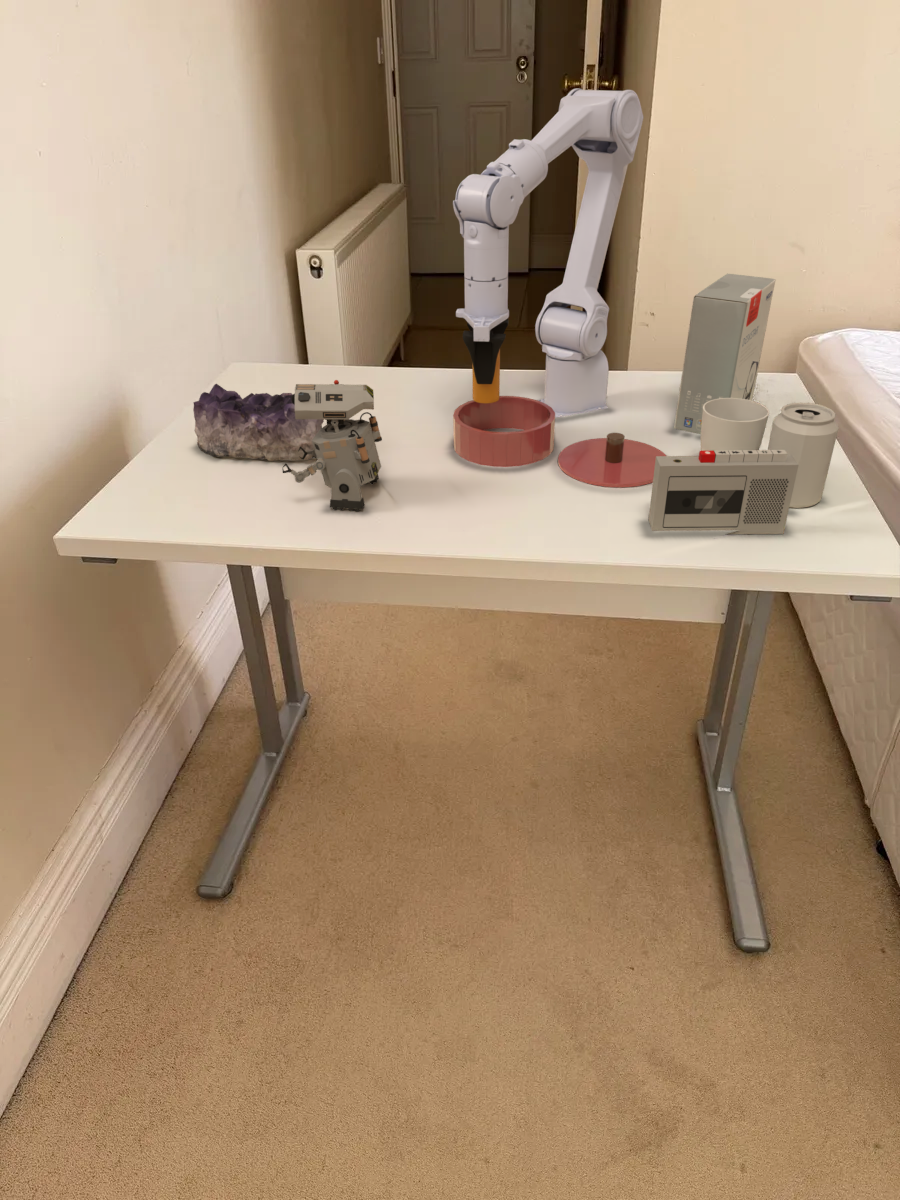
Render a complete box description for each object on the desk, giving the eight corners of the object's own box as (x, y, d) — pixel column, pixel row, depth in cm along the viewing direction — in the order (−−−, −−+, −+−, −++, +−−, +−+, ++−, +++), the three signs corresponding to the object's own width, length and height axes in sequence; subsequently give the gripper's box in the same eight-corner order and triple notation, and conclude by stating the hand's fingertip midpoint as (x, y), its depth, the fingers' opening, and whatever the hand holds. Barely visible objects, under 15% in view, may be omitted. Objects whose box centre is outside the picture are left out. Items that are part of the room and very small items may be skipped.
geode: (182, 467, 122) (169, 396, 118) (211, 444, 133) (200, 379, 128) (321, 465, 120) (313, 393, 116) (339, 442, 130) (333, 375, 126)
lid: (629, 437, 127) (632, 408, 125) (691, 478, 116) (696, 446, 113) (538, 456, 123) (539, 425, 120) (593, 500, 111) (596, 467, 108)
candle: (492, 392, 124) (492, 336, 119) (503, 400, 121) (504, 344, 116) (468, 396, 123) (467, 340, 118) (479, 405, 120) (479, 348, 115)
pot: (525, 423, 133) (526, 389, 130) (571, 458, 122) (573, 422, 119) (439, 439, 128) (438, 405, 125) (479, 478, 117) (478, 441, 114)
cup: (759, 473, 117) (773, 402, 111) (750, 498, 110) (764, 425, 105) (699, 463, 119) (709, 394, 114) (686, 488, 113) (697, 416, 108)
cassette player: (651, 534, 103) (661, 458, 98) (647, 524, 106) (656, 448, 100) (783, 533, 103) (800, 456, 97) (776, 523, 105) (793, 446, 99)
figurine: (308, 477, 118) (295, 371, 110) (389, 482, 117) (382, 374, 108) (287, 508, 111) (271, 396, 103) (373, 513, 109) (364, 400, 101)
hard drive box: (723, 442, 125) (746, 302, 114) (672, 432, 129) (690, 295, 118) (752, 407, 136) (776, 276, 125) (705, 399, 140) (724, 271, 129)
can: (819, 490, 112) (841, 402, 105) (820, 516, 106) (843, 424, 99) (759, 483, 114) (776, 396, 107) (757, 508, 108) (774, 418, 102)
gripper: (461, 263, 119) (463, 360, 126) (449, 290, 107) (451, 395, 115) (512, 263, 118) (511, 361, 126) (505, 290, 106) (504, 396, 114)
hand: (486, 377), depth 120 cm, fingers closed on candle, 4 cm apart
